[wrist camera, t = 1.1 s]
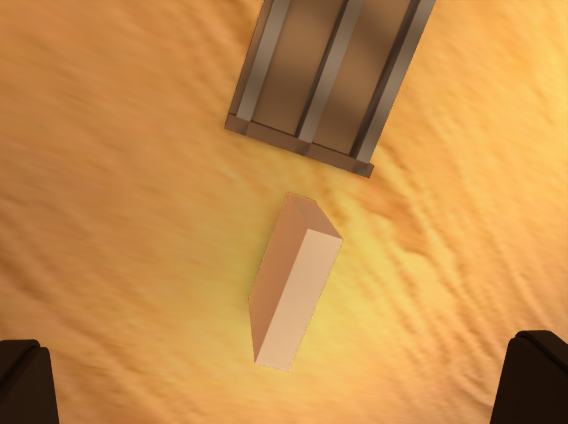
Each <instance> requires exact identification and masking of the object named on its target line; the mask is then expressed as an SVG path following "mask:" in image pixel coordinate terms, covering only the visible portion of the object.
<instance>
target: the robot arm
mask: <svg viewBox="0 0 568 424" xmlns="http://www.w3.org/2000/svg"><path fill="white" fill-rule="evenodd" d="M0 424H59V418H58V410H57V403H56V396H55V389H54V381H53V374H52V367H51V360H50V353H49V350H48V348H46V347H40V344H39V342H38V341H37V340H35V339H31V340H3V341H0ZM490 424H568V344H567V343H565V342H564V341H563V340H562V339H560V338H559V337H558V336H557V335H555V334H554V333H552V332H551V331H547V330H528V331H520V332H518V333H517V334H516V335H515V338H512V339H511V340H510V341H509V344H508V347H507V352H506V356H505V360H504V365H503V369H502V373H501V377H500V382H499V386H498V390H497V395H496V399H495V403H494V407H493V412H492V416H491V420H490Z"/></svg>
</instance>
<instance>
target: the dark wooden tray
mask: <svg viewBox="0 0 568 424" xmlns="http://www.w3.org/2000/svg"><path fill="white" fill-rule="evenodd" d="M435 1H436V0H264V3H263V7H262V10H261V13H260V16H259V19H258V22H257V25H256V28H255V32H254V35H253V38H252V41H251V44H250V47H249V50H248V53H247V57H246V60H245V63H244V66H243V69H242V72H241V75H240V79H239V82H238V85H237V88H236V91H235V94H234V97H233V100H232V104H231V107H230V110H229V113H228V116H227V119H226V122H225V128H226V129H229V130H231V131H234V132H237V133H240V134H243V135H246V136H249V137H252V138H255V139H257V140H260V141H263V142H266V143H269V144H272V145H275V146H278V147H280V148H283V149H286V150H289V151H292V152H295V153H298V154H301V155H303V156H306V157H309V158H312V159H315V160H318V161H321V162H324V163H326V164H329V165H332V166H335V167H338V168H341V169H344V170H347V171H350V172H352V173H355V174H358V175H361V176H364V177H367V178H370V175H371V173H372V171H373V168H374V165H372V164H371V163H369V161H370V159H371V156H372V154H373V152H374V149H375V147H376V144H377V142H378V139H379V137H380V135H381V132H382V130H383V127H384V125H385V122H386V120H387V118H388V115H389V113H390V110H391V108H392V106H393V103H394V101H395V98H396V96H397V93H398V91H399V89H400V86H401V84H402V81H403V79H404V76H405V74H406V72H407V69H408V67H409V64H410V62H411V60H412V57H413V55H414V52H415V50H416V47H417V45H418V43H419V40H420V38H421V35H422V33H423V30H424V28H425V26H426V23H427V21H428V18H429V16H430V14H431V11H432V9H433V6H434V4H435Z"/></svg>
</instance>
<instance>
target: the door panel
mask: <svg viewBox="0 0 568 424" xmlns="http://www.w3.org/2000/svg"><path fill="white" fill-rule="evenodd" d="M342 242H343V238H342V237H341V236H340V234H339V233H338V232H337V230H336V229H335V227H334V226H333V225H332V223H331V222H330V221H329V219H328V218H327V217H326V215H325V214H324V212H323V211H322V210H321V208H320V207H319V206H318V204H317V203H316V201H314V200H311V199H308V198H305V197H302V196H299V195H296V194H293V193H290V192H288V193H287V196H286V198H285V201H284V204H283V206H282V209H281V212H280V214H279V217H278V220H277V222H276V225H275V228H274V231H273V233H272V236H271V239H270V241H269V244H268V247H267V249H266V252H265V255H264V258H263V260H262V263H261V266H260V268H259V271H258V274H257V276H256V279H255V282H254V284H253V287H252V290H251V293H250V295H249V298H248V300H249V310H250V321H251V331H252V341H253V351H254V362H255V364H256V365H260V366H265V367H269V368H274V369H278V370H283V371H287V372H288V371H289V369H290V367H291V364H292V362H293V359H294V357H295V355H296V352H297V350H298V347H299V345H300V343H301V340H302V338H303V335H304V333H305V331H306V328H307V326H308V323H309V321H310V319H311V316H312V314H313V311H314V309H315V307H316V304H317V302H318V299H319V297H320V295H321V292H322V290H323V287H324V285H325V283H326V280H327V278H328V275H329V273H330V271H331V268H332V266H333V263H334V261H335V259H336V256H337V254H338V251H339V249H340V247H341V244H342Z"/></svg>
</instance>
